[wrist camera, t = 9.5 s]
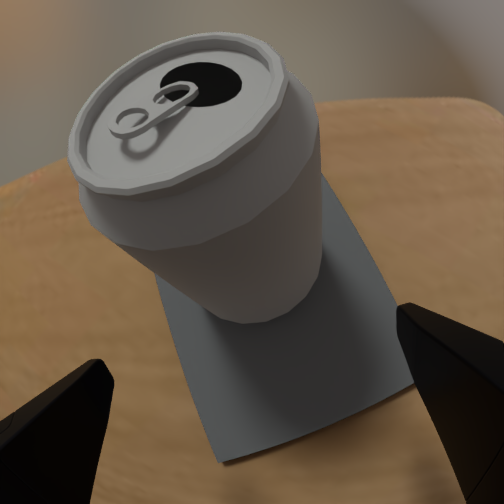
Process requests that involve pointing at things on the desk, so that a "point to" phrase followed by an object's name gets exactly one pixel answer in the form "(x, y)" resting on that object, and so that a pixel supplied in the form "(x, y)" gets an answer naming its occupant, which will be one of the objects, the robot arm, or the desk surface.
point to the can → (207, 172)
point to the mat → (293, 351)
